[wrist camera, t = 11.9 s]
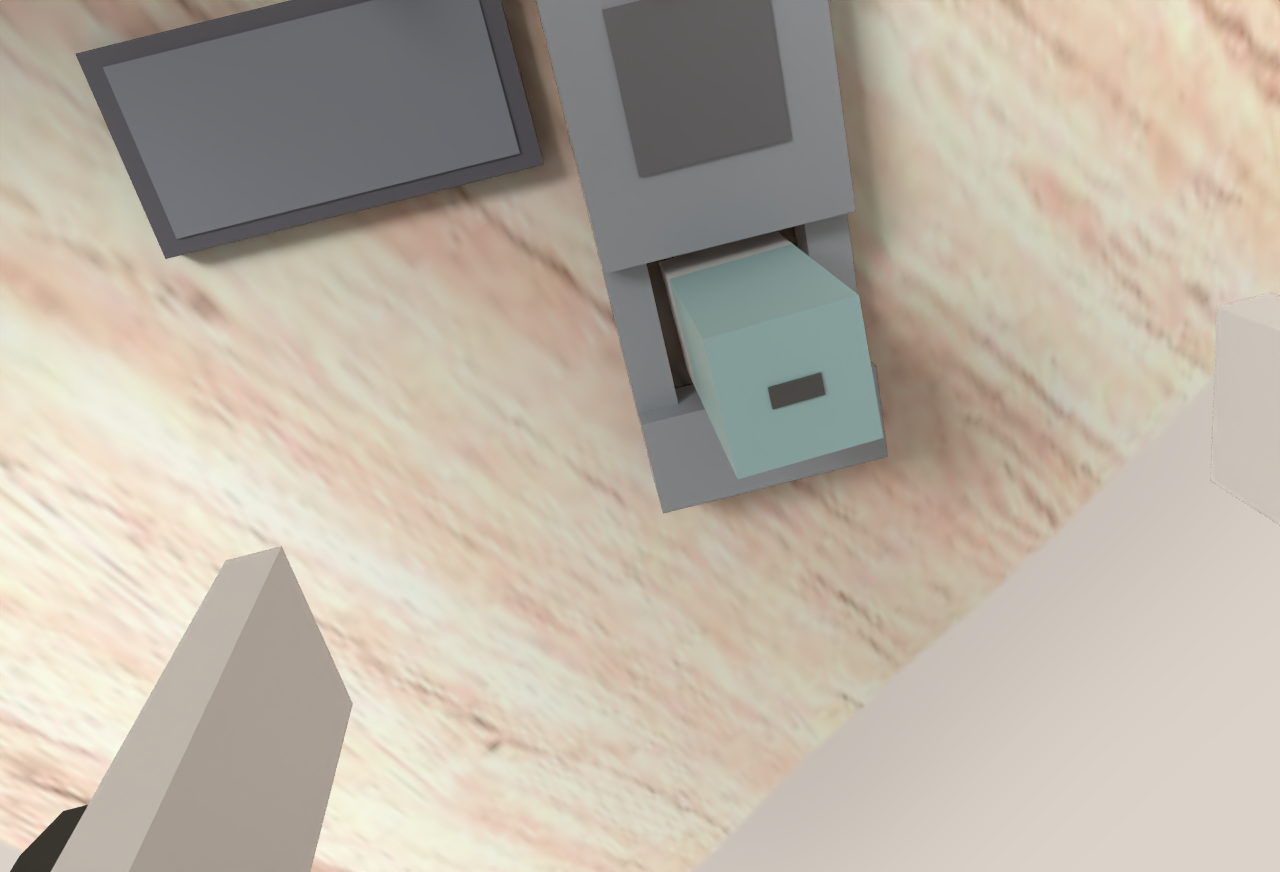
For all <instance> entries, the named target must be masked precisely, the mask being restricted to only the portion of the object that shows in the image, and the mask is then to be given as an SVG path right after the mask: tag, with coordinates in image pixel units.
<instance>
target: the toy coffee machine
mask: <svg viewBox="0 0 1280 872" xmlns="http://www.w3.org/2000/svg"><path fill="white" fill-rule="evenodd" d="M536 4H537V8H538V12H539V16H540V20H541V24H542V28H543V32H544V36H545V40H546V44H547V48H548V52H549V56H550V60H551V64H552V68H553V72H554V76H555V81H556V85H557V89H558V93H559V97H560V101H561V105H562V109H563V113H564V117H565V121H566V125H567V129H568V133H569V137H570V141H571V145H572V149H573V153H574V157H575V161H576V165H577V170H578V174H579V178H580V182H581V186H582V190H583V194H584V198H585V202H586V206H587V210H588V214H589V218H590V222H591V226H592V230H593V234H594V238H595V242H596V246H597V250H598V254H599V259H600V263H601V267H602V271H603V275H604V279H605V283H606V287H607V291H608V295H609V299H610V303H611V307H612V311H613V315H614V319H615V323H616V327H617V331H618V335H619V339H620V343H621V347H622V352H623V356H624V360H625V364H626V368H627V372H628V376H629V380H630V384H631V388H632V392H633V396H634V400H635V404H636V408H637V412H638V416H639V420H640V424H641V428H642V432H643V436H644V441H645V445H646V449H647V453H648V457H649V461H650V465H651V469H652V473H653V477H654V481H655V485H656V488H657V492H658V496H659V500H660V503H661V507H662V511H663V513H667V512H671V511H675V510H679V509H683V508H687V507H691V506H694V505H698V504H702V503H706V502H710V501H714V500H718V499H722V498H726V497H730V496H734V495H738V494H742V493H746V492H750V491H754V490H758V489H762V488H766V487H770V486H774V485H778V484H782V483H786V482H790V481H794V480H798V479H802V478H806V477H810V476H814V475H818V474H822V473H826V472H829V471H833V470H837V469H841V468H845V467H849V466H853V465H857V464H861V463H865V462H869V461H873V460H877V459H881V458H885V457H888V454H887V446H886V438H885V431H884V423H883V415H882V408H881V400H880V392H879V385H878V377H877V370H876V366H875V365H874V364H873V363H872V362H871V361H870V362H871V368H872V374H873V379H874V385H875V391H876V397H877V403H878V409H879V415H880V420H881V426H882V432H883V438H881V439H878V440H874V441H871V442H867V443H864V444H860V445H857V446H853V447H850V448H846V449H843V450H839V451H836V452H832V453H829V454H825V455H822V456H818V457H815V458H811V459H808V460H804V461H801V462H797V463H794V464H790V465H787V466H783V467H780V468H776V469H773V470H769V471H766V472H762V473H759V474H755V475H752V476H748V477H745V478H741V479H737V477H736V475H735V473H734V471H733V468H732V466H731V464H730V462H729V460H728V458H727V456H726V453H725V451H724V449H723V447H722V445H721V443H720V440H719V438H718V436H717V434H716V432H715V430H714V427H713V425H712V423H711V421H710V419H709V417H708V414H707V412H706V410H705V408H704V406H703V404H702V402H701V399H700V397H699V395H698V393H697V391H696V389H695V386H694V384H691V385H687V386H683V387H679V388H675V387H674V383H673V378H672V374H671V370H670V365H669V361H668V356H667V352H666V348H665V343H664V339H663V334H662V330H661V326H660V321H659V317H658V312H657V308H656V303H655V299H654V295H653V290H652V286H651V281H650V277H649V273H648V268H647V264H646V263H650V262H654V261H658V260H662V259H666V258H670V257H674V256H678V255H682V254H686V253H690V252H694V251H698V250H702V249H706V248H710V247H714V246H718V245H722V244H726V243H730V242H734V241H738V240H742V239H746V238H750V237H754V236H758V235H762V234H766V233H770V232H774V231H778V230H782V229H786V228H790V227H794V229H795V235H796V241H797V247H798V248H799V249H800V250H801V251H803V252H804V253H805V254H807V255H808V256H809V257H810V258H812V259H813V260H814V261H816V262H817V263H818V264H819V265H821V266H822V267H823V268H825V269H826V270H827V271H828V272H830V273H831V274H832V275H834V276H835V277H836V278H838V279H839V280H840V281H841V282H843V283H844V284H845V285H847V286H848V287H849V288H850V289H852V290H853V291H854V292H856V293H857V294H858V292H857V285H856V277H855V270H854V263H853V255H852V248H851V240H850V233H849V225H848V218H847V213H850V212H854V211H856V209H855V201H854V194H853V186H852V178H851V171H850V163H849V155H848V148H847V140H846V133H845V125H844V117H843V110H842V102H841V94H840V87H839V79H838V71H837V64H836V56H835V48H834V41H833V33H832V26H831V18H830V10H829V3H828V0H536Z"/></svg>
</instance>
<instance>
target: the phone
mask: <svg viewBox="0 0 1280 872" xmlns="http://www.w3.org/2000/svg"><path fill="white" fill-rule="evenodd" d="M76 56H77V58H78V60H79V63H80V65H81V67H82V70H83V72H84V74H85V76H86V79H87V81H88V83H89V86H90V88H91V90H92V92H93V95H94V97H95V99H96V101H97V104H98V106H99V108H100V111H101V113H102V115H103V117H104V120H105V122H106V124H107V126H108V129H109V131H110V133H111V136H112V138H113V140H114V142H115V145H116V147H117V149H118V151H119V154H120V156H121V158H122V161H123V163H124V165H125V167H126V170H127V172H128V174H129V176H130V179H131V181H132V183H133V186H134V188H135V190H136V192H137V195H138V197H139V199H140V202H141V204H142V206H143V208H144V211H145V213H146V215H147V217H148V220H149V222H150V224H151V227H152V229H153V231H154V233H155V236H156V238H157V240H158V242H159V245H160V247H161V249H162V252H163V254H164V256H165V258H166V259H167V258H171V257H175V256H179V255H183V254H187V253H191V252H195V251H199V250H203V249H207V248H211V247H215V246H219V245H223V244H227V243H231V242H235V241H239V240H243V239H247V238H251V237H255V236H259V235H263V234H267V233H271V232H276V231H280V230H284V229H288V228H292V227H296V226H300V225H304V224H308V223H312V222H316V221H320V220H324V219H328V218H332V217H336V216H340V215H344V214H348V213H352V212H356V211H360V210H364V209H368V208H372V207H376V206H380V205H384V204H388V203H392V202H396V201H400V200H404V199H408V198H412V197H416V196H420V195H424V194H428V193H432V192H436V191H440V190H444V189H448V188H452V187H456V186H460V185H464V184H468V183H472V182H476V181H480V180H484V179H488V178H492V177H496V176H500V175H504V174H508V173H512V172H516V171H520V170H524V169H528V168H532V167H536V166H540V165H543V159H542V155H541V151H540V148H539V144H538V140H537V136H536V132H535V128H534V125H533V121H532V117H531V113H530V109H529V105H528V102H527V98H526V94H525V90H524V86H523V82H522V79H521V75H520V71H519V67H518V63H517V59H516V56H515V52H514V48H513V44H512V40H511V36H510V33H509V29H508V25H507V21H506V17H505V13H504V10H503V6H502V2H501V0H290V1H286V2H282V3H278V4H274V5H270V6H266V7H262V8H258V9H254V10H250V11H246V12H242V13H238V14H234V15H230V16H226V17H222V18H218V19H214V20H210V21H206V22H202V23H198V24H194V25H190V26H186V27H182V28H178V29H174V30H170V31H166V32H162V33H158V34H153V35H149V36H145V37H141V38H137V39H133V40H129V41H125V42H121V43H117V44H113V45H109V46H105V47H101V48H97V49H93V50H89V51H85V52H81V53H77V54H76Z"/></svg>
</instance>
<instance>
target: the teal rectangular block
mask: <svg viewBox="0 0 1280 872" xmlns="http://www.w3.org/2000/svg"><path fill="white" fill-rule="evenodd" d="M659 264H660V268H661V272H662V275H663V279H664V283H665V287H666V291H667V295H668V299H669V302H670V306H671V310H672V314H673V318H674V322H675V326H676V330H677V333H678V337H679V341H680V345H681V349H682V353H683V357H684V361H685V364H686V368H687V371H688V373H689V376H690V378H691V380H692V382H693V384H694V386H695V389H696V391H697V393H698V395H699V397H700V399H701V402H702V404H703V406H704V408H705V410H706V412H707V414H708V417H709V419H710V421H711V423H712V425H713V427H714V430H715V432H716V434H717V436H718V438H719V440H720V443H721V445H722V447H723V449H724V451H725V453H726V456H727V458H728V460H729V462H730V464H731V466H732V468H733V471H734V473H735V475H736V477H737V479H741V478H745V477H748V476H752V475H755V474H759V473H762V472H766V471H769V470H773V469H776V468H780V467H783V466H787V465H790V464H794V463H797V462H801V461H804V460H808V459H811V458H815V457H818V456H822V455H825V454H829V453H832V452H836V451H839V450H843V449H846V448H850V447H853V446H857V445H860V444H864V443H867V442H871V441H874V440H878V439H881V438H883V432H882V426H881V420H880V415H879V409H878V403H877V397H876V391H875V385H874V379H873V374H872V368H871V362H870V356H869V350H868V344H867V339H866V333H865V327H864V321H863V315H862V309H861V303H860V298H859V295H858V294H857V293H856V292H854V291H853V290H852V289H850V288H849V287H848V286H847V285H845V284H844V283H843V282H841V281H840V280H839V279H838V278H836V277H835V276H834V275H832V274H831V273H830V272H828V271H827V270H826V269H825V268H823V267H822V266H821V265H819V264H818V263H817V262H816V261H814V260H813V259H812V258H810V257H809V256H808V255H807V254H805V253H804V252H803V251H801V250H800V249H799V248H798V247H796V246H795V245H794V244H792V243H791V242H790V241H788V240H787V239H786V238H785V237H783V236H782V235H781V234H779V233H778V232H777V231H774V232H770V233H766V234H762V235H758V236H754V237H750V238H746V239H742V240H738V241H734V242H730V243H726V244H722V245H718V246H714V247H710V248H706V249H702V250H699V251H696V252H692V253H689V254H685V255H682V256H678V257H675V258H671V259H668V260H664V261H661V262H659Z"/></svg>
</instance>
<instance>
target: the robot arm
mask: <svg viewBox="0 0 1280 872" xmlns="http://www.w3.org/2000/svg"><path fill="white" fill-rule="evenodd" d="M1212 428H1213V429H1212V455H1211V481H1212V482H1213V483H1215V484H1216V485H1218V486H1219V487H1221V488H1222V489H1224V490H1226V491H1227V492H1229V493H1230V494H1232V495H1234V496H1235V497H1236V498H1238V499H1240V500H1241V501H1243V502H1245V503H1246V504H1247V505H1249V506H1250V507H1252V508H1254V509H1255V510H1257V511H1258V512H1260V513H1261V514H1263V515H1264V516H1266V517H1267V518H1269V519H1271V520H1272V521H1274V522H1275V523H1277V524H1278V525H1280V296H1279V295H1276V294H1273V293H1267V294H1263V295H1259V296H1255V297H1251V298H1248V299H1244V300H1240V301H1236V302H1232V303H1228V304H1224V305H1220V306H1217V319H1216V346H1215V373H1214V402H1213V427H1212ZM352 704H353V703H352V701H351V699H350V697H349V695H348V692H347V690H346V688H345V686H344V683H343V681H342V679H341V677H340V675H339V672H338V670H337V668H336V666H335V664H334V661H333V659H332V657H331V655H330V652H329V650H328V648H327V646H326V644H325V641H324V639H323V637H322V635H321V632H320V630H319V628H318V626H317V624H316V621H315V619H314V617H313V615H312V613H311V610H310V608H309V606H308V604H307V601H306V599H305V597H304V595H303V593H302V590H301V588H300V586H299V584H298V581H297V579H296V577H295V575H294V573H293V570H292V568H291V566H290V564H289V562H288V559H287V557H286V555H285V553H284V550H283V548H282V546H281V547H277V548H273V549H269V550H265V551H261V552H257V553H253V554H249V555H246V556H242V557H238V558H234V559H230V560H226V561H225V563H224V565H223V567H222V568H221V570H220V572H219V574H218V576H217V577H216V579H215V581H214V583H213V584H212V586H211V588H210V590H209V592H208V593H207V595H206V597H205V599H204V600H203V602H202V604H201V606H200V608H199V609H198V611H197V613H196V615H195V616H194V618H193V620H192V622H191V624H190V625H189V627H188V629H187V631H186V632H185V634H184V636H183V638H182V639H181V641H180V643H179V645H178V647H177V648H176V650H175V652H174V654H173V655H172V657H171V659H170V661H169V663H168V664H167V666H166V668H165V670H164V671H163V673H162V675H161V677H160V679H159V680H158V682H157V684H156V686H155V687H154V689H153V691H152V693H151V695H150V696H149V698H148V700H147V702H146V703H145V705H144V707H143V709H142V711H141V712H140V714H139V716H138V718H137V719H136V721H135V723H134V725H133V727H132V728H131V730H130V732H129V734H128V735H127V737H126V739H125V741H124V743H123V744H122V746H121V748H120V750H119V751H118V753H117V755H116V757H115V758H114V760H113V762H112V764H111V766H110V767H109V769H108V771H107V773H106V774H105V776H104V778H103V780H102V782H101V783H100V785H99V787H98V789H97V790H96V792H95V794H94V796H93V798H92V799H91V801H90V803H89V805H85V806H81V807H77V808H74V809H70V810H66V811H63V812H62V813H61V814H60V815H59V816H58V817H57V818H56V819H55V820H54V821H53V822H52V823H51V824H50V825H49V826H48V827H47V829H46V830H45V831H44V832H43V833H42V834H41V835H40V836H39V837H38V838H37V839H36V840H35V841H34V842H33V843H32V844H31V845H30V846H29V847H28V848H27V849H26V850H25V851H24V852H23V853H22V854H21V855H20V856H19V858H18V860H17V861H16V863H15V864H14V866H13V868H12V870H11V871H10V872H310V871H311V867H312V863H313V859H314V855H315V851H316V847H317V843H318V839H319V835H320V831H321V827H322V823H323V819H324V815H325V811H326V807H327V803H328V799H329V795H330V791H331V787H332V783H333V780H334V776H335V772H336V768H337V764H338V760H339V756H340V752H341V748H342V744H343V740H344V736H345V732H346V728H347V724H348V720H349V716H350V712H351V708H352Z"/></svg>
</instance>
